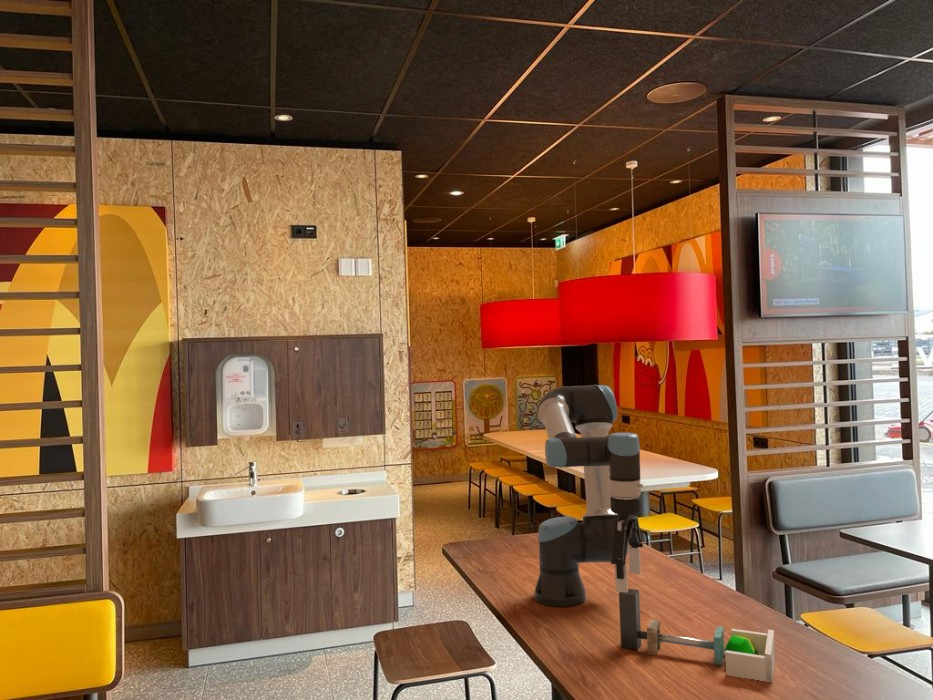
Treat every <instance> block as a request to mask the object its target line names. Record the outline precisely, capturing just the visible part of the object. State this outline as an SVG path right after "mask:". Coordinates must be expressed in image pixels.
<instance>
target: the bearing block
mask: <svg viewBox="0 0 933 700" xmlns="http://www.w3.org/2000/svg"><path fill="white" fill-rule="evenodd" d="M646 632H647V655H653V656H657V655H658V653H659V652H658V649H661V647H662V642H659V641H657V633H660V634H662V633H661V620H657V619H650V622H649V623H648V625H647V627H646Z"/></svg>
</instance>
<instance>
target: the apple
mask: <svg viewBox="0 0 933 700" xmlns="http://www.w3.org/2000/svg"><path fill="white" fill-rule="evenodd" d="M726 650H728V651H734V652H741V653H748V654H754V652H755V653H756V654H757V655H758V652H757V650H756V649H755V648H754V647H753V643H752V642H751V641H750V640H749V639H747V638H744V637H741V636H735V635H732V634H731V636H730V638H729V639H728V641H727V643H726V645H725V652H726Z"/></svg>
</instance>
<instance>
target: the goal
mask: <svg viewBox="0 0 933 700" xmlns="http://www.w3.org/2000/svg"><path fill="white" fill-rule="evenodd" d="M732 635H735V636H741V637H744V638H747V639H749V640H750V641H751V642H752V643H753V647H754V648H755V649H756V650H757V652H758V655H757V654H756V653H755V652H754V654H748V653H741V652H734V651H728V650H726V652H725V654H724V656H725V672H726V676H727V675H729V676H728V677H733V676H734V677H735V678H739V677H740V678H741V679H745V678H746V680H751V679H754V680H753V681H757V680H759V682H763V681H764V683H769V682H770V683H769V684H772V683H773V680H774V679H773V678H774V672H775V671H774V670H775V664H776V663H775V662H776V648H775V647H776V644H775V643H776V642H775V641H776V640H775V630H774V629H767V633H765V632H759V631H752V630H744V629H738V628H731V636H732ZM734 677H733V678H734Z"/></svg>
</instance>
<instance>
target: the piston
mask: <svg viewBox="0 0 933 700" xmlns="http://www.w3.org/2000/svg"><path fill="white" fill-rule="evenodd" d="M618 592H619V591H618ZM618 601H619V625H620V626H619V628H620V630H619V631H620V647H621V648H624V649H632V650H638V649H639V648H640V646H641V645H642V640H647V630H646V631H645V630H642V628H641V609H640V608H641V606H640V605H641V603H640V602H641V601H640V589H631V588H628V592H627V593H626V592H619V593H618ZM724 629H725V627H724V626H720V625H719V626H716V629H715V632H714V636H713V641H712V640H706V639H699V638H692V637H686V636H678V635H672V634H667V633H666V634H665V633H661V634H660V633H657V641H659V642H661V643H667V644H673V645H678V646H679V645H680V646H687V647H692V648H693V647H694V648H699V649H705V650H706V649H707V650H712V651H713V652H714V654H713V655H714V665H718V666H719V665H720V666H722V664H723V661H724V657H725V647H726V645H725V630H724Z"/></svg>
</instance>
